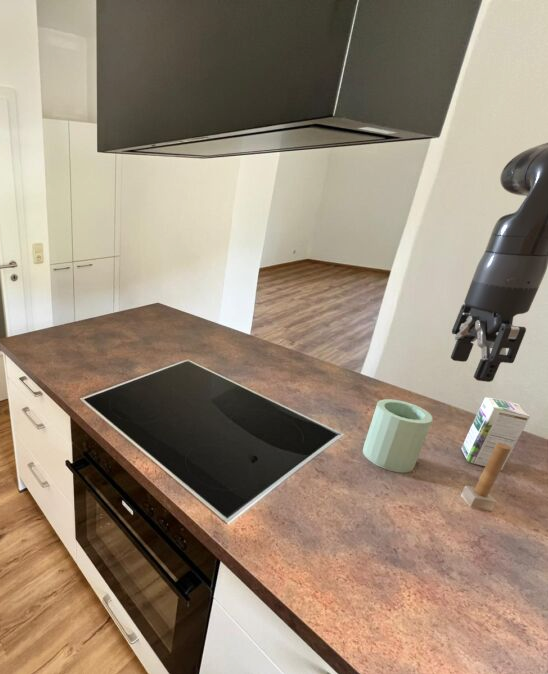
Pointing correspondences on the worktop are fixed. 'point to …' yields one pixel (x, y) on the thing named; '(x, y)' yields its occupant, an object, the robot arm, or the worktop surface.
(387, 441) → the mint green cup
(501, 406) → the syrup box
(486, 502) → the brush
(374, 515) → the worktop surface
